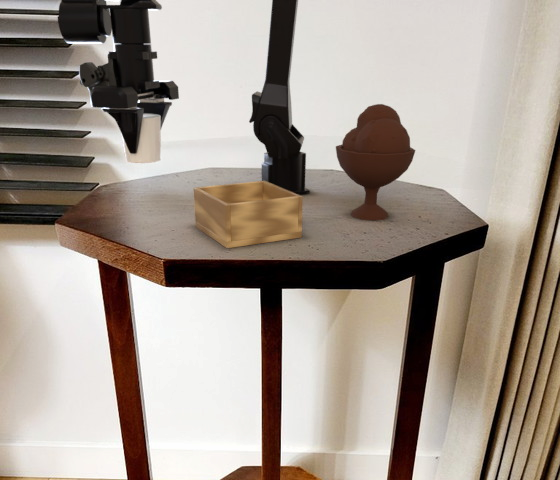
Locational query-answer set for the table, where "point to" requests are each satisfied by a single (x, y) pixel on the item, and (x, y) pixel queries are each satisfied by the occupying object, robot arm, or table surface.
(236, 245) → the box
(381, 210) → the ice cream bowl
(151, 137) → the white cup
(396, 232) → the table surface
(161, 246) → the table surface
